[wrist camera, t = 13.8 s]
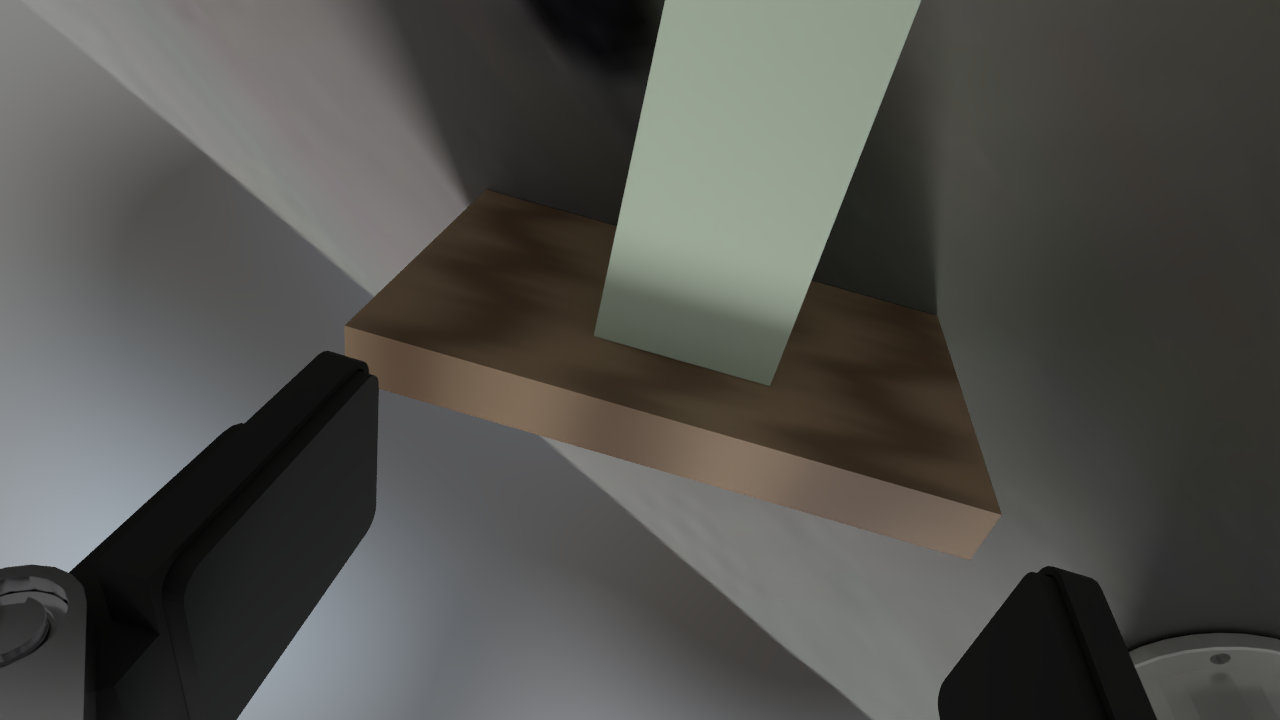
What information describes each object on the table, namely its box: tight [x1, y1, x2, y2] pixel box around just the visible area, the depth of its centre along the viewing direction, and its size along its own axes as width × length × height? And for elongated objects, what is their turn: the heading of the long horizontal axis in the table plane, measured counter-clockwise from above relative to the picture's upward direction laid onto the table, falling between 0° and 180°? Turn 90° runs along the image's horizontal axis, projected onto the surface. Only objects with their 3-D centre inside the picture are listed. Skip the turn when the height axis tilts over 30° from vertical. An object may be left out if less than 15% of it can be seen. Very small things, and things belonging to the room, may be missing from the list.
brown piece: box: [345, 190, 1002, 560], centre depth 23 cm, size 20×16×12 cm
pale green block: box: [594, 0, 921, 386], centre depth 24 cm, size 6×13×9 cm, turn 168°
